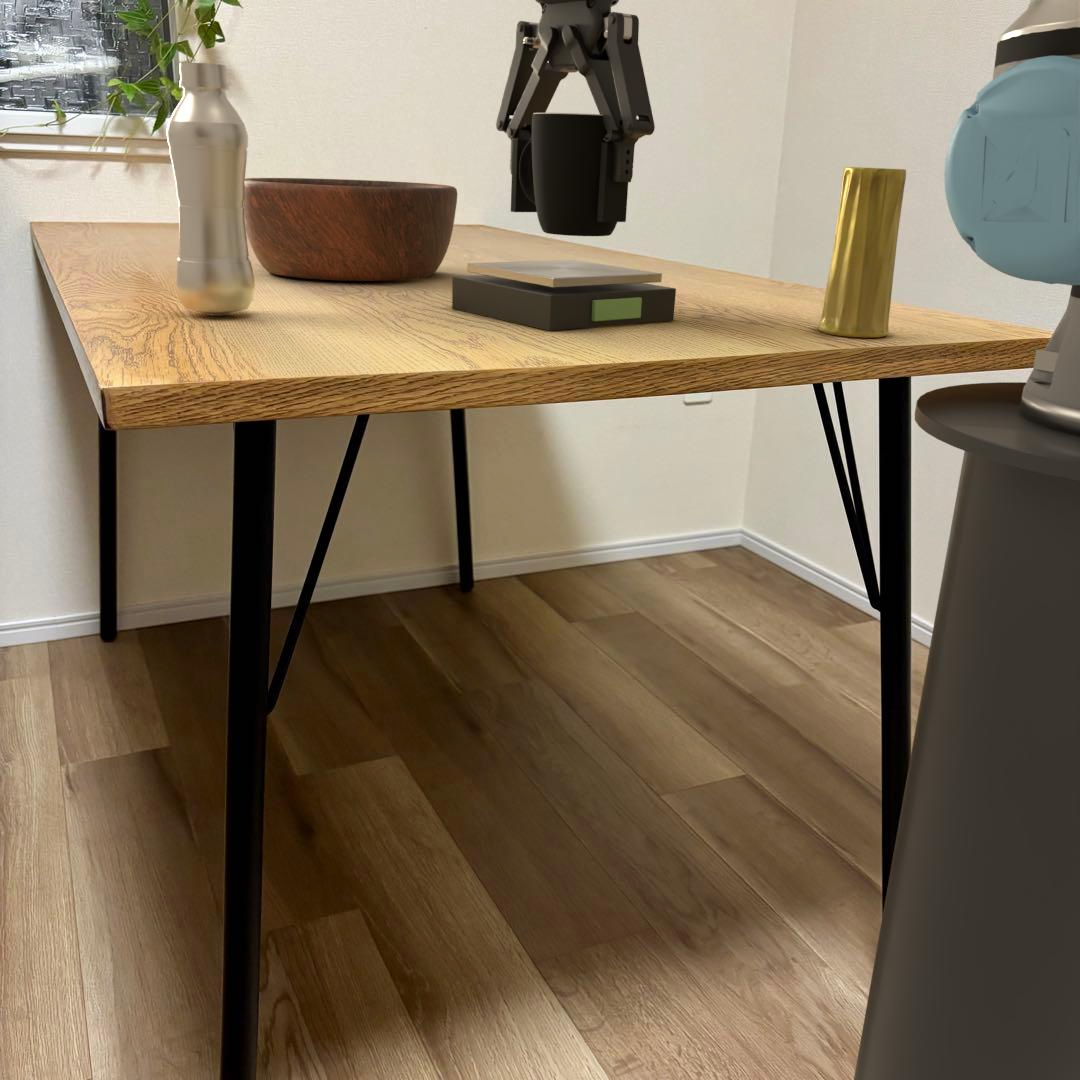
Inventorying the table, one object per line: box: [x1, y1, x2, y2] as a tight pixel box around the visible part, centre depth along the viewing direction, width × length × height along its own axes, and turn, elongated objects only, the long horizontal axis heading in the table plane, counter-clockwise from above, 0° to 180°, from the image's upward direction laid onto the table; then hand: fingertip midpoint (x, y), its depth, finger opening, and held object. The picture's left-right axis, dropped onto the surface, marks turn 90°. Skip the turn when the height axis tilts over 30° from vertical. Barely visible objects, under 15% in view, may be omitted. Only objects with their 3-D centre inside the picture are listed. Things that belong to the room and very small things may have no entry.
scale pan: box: [466, 259, 663, 288], centre depth 102 cm, size 13×13×1 cm
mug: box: [519, 112, 618, 237], centre depth 99 cm, size 12×9×10 cm
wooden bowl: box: [243, 177, 458, 282], centre depth 127 cm, size 25×25×10 cm
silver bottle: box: [166, 62, 256, 317], centre depth 91 cm, size 6×7×20 cm
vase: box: [818, 166, 907, 339], centre depth 97 cm, size 6×6×14 cm
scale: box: [451, 274, 677, 332], centre depth 102 cm, size 15×15×3 cm
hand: (565, 217), depth 100 cm, fingers closed on mug, 12 cm apart
